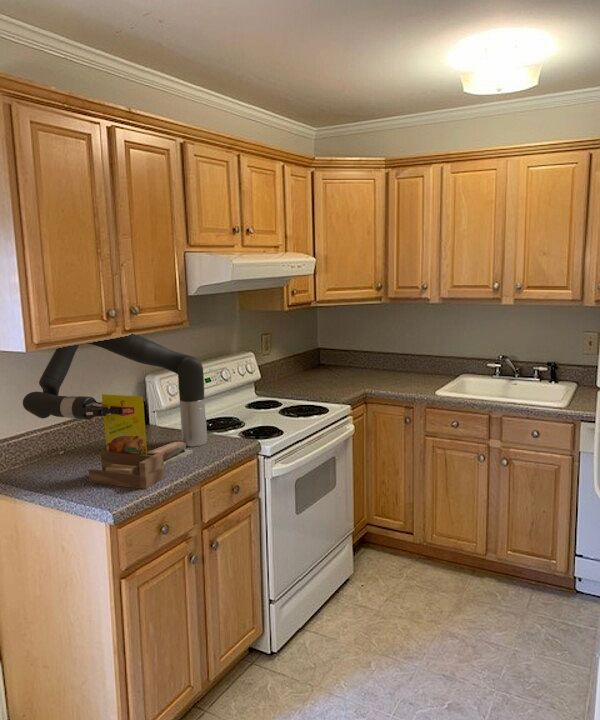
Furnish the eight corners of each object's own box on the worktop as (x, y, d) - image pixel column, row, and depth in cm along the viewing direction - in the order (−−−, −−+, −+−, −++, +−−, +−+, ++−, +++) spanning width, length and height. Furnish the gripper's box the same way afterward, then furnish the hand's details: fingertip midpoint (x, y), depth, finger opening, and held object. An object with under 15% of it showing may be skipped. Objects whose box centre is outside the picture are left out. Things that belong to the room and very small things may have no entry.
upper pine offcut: (113, 471, 190) (113, 463, 190) (138, 473, 188) (137, 466, 187) (106, 475, 187) (105, 467, 186) (130, 478, 184) (130, 470, 183)
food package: (105, 454, 192) (100, 394, 189) (107, 453, 194) (102, 393, 190) (146, 458, 188) (141, 396, 184) (148, 457, 189) (143, 395, 185)
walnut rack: (109, 471, 196) (107, 448, 195) (164, 477, 189) (162, 453, 188) (89, 482, 187) (87, 458, 185) (146, 488, 180) (144, 463, 178)
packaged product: (160, 455, 197) (137, 452, 202) (161, 469, 198) (138, 466, 203) (192, 441, 213) (170, 438, 218) (193, 454, 214) (171, 451, 218)
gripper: (63, 401, 187) (109, 403, 181) (91, 392, 200) (135, 394, 194) (65, 424, 188) (110, 427, 182) (93, 413, 201) (136, 416, 195)
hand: (123, 410), depth 188 cm, fingers closed on food package, 1 cm apart
